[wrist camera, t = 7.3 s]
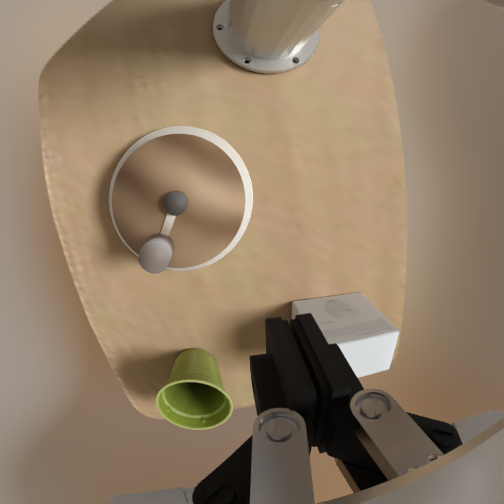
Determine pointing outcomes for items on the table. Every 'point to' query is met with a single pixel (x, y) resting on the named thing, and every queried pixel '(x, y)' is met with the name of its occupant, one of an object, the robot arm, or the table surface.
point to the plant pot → (194, 393)
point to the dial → (178, 201)
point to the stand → (220, 144)
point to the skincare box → (353, 330)
